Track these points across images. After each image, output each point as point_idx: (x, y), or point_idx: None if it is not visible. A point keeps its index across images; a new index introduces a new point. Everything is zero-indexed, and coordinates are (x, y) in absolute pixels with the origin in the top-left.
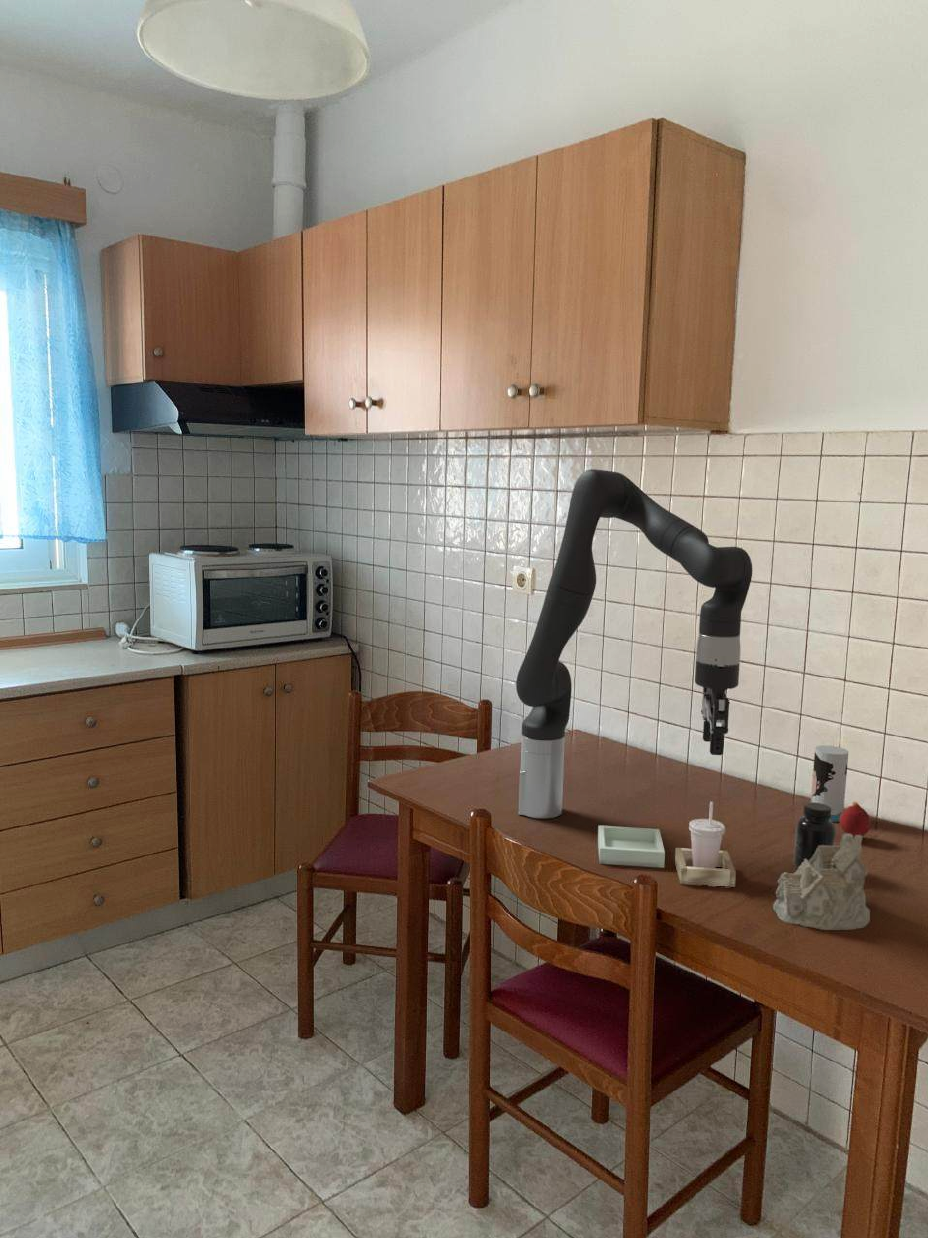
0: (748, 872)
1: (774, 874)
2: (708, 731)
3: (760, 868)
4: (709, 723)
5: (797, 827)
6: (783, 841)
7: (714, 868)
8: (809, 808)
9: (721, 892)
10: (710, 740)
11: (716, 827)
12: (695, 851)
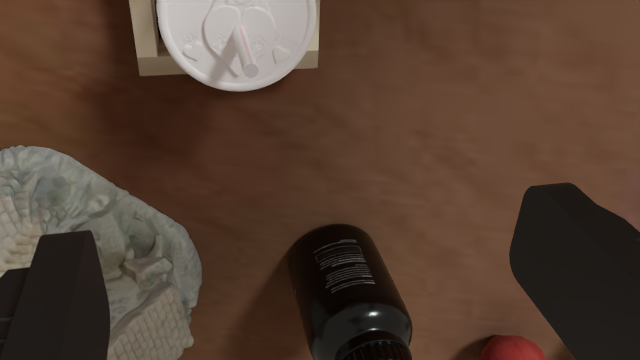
0: (273, 108)
1: (272, 172)
2: (578, 277)
3: (307, 142)
4: (635, 351)
5: (360, 294)
6: (489, 212)
7: (147, 5)
8: None
9: (93, 10)
10: (51, 331)
11: (219, 56)
12: None
